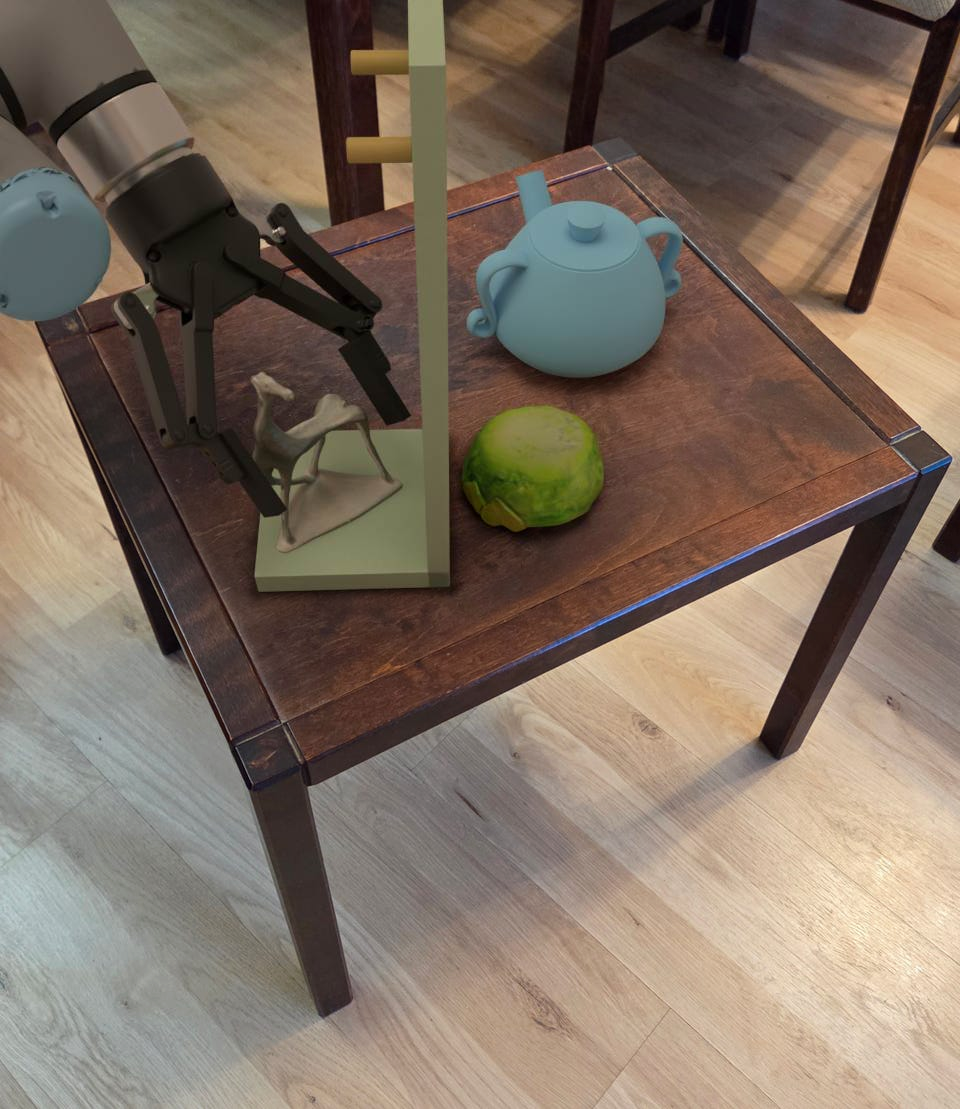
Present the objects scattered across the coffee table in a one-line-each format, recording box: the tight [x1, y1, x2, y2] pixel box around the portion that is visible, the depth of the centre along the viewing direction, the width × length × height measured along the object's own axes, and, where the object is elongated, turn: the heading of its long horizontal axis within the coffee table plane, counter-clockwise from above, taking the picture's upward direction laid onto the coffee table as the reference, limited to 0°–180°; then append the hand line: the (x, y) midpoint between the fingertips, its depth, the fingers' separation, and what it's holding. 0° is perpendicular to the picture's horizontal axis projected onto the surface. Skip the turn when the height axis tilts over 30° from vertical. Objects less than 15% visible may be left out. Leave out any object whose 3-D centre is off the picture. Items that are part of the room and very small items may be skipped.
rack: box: [254, 0, 451, 593], centre depth 65 cm, size 14×14×40 cm
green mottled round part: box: [461, 404, 605, 533], centre depth 82 cm, size 12×11×5 cm
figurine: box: [249, 371, 403, 553], centre depth 74 cm, size 11×6×15 cm, turn 123°
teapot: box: [466, 169, 684, 379], centre depth 90 cm, size 20×20×13 cm
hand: (339, 465), depth 74 cm, fingers open, 11 cm apart
